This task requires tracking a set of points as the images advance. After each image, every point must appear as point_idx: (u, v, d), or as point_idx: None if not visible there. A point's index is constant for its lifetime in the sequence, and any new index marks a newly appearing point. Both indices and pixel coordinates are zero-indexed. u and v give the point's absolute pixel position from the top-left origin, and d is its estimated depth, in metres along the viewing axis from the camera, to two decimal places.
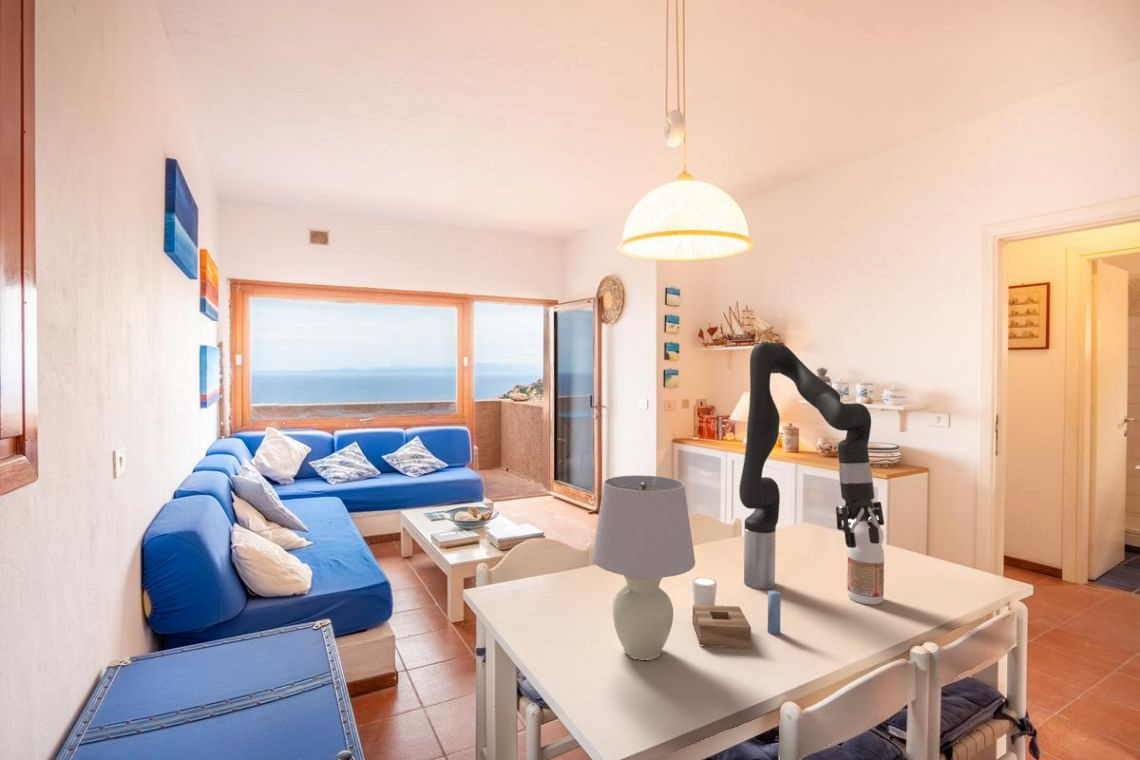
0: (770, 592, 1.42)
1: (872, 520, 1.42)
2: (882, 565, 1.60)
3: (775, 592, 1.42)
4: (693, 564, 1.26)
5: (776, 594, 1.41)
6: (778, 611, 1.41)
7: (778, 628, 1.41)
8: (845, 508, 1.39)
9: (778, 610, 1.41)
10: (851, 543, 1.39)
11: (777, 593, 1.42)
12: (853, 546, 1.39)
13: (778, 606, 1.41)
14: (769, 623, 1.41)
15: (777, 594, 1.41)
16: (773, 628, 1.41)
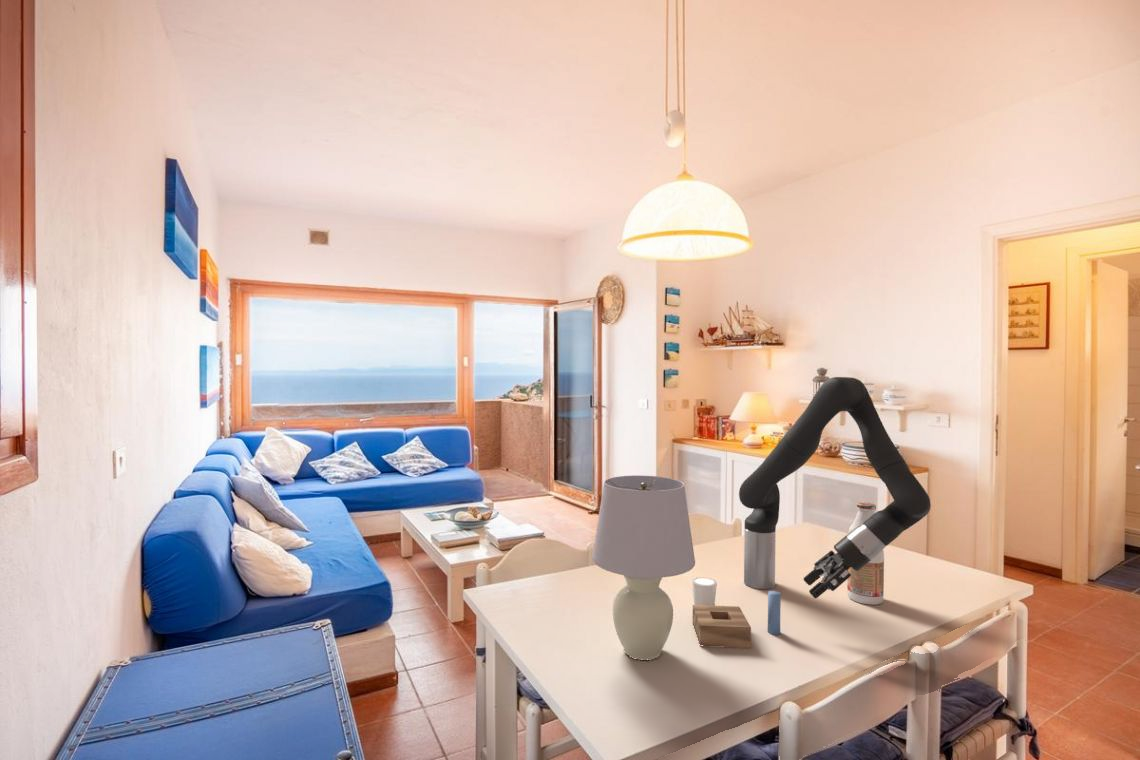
0: (770, 592, 1.42)
1: None
2: (882, 565, 1.60)
3: (775, 592, 1.42)
4: (693, 564, 1.26)
5: (776, 594, 1.41)
6: (778, 611, 1.41)
7: (778, 628, 1.41)
8: None
9: (778, 610, 1.41)
10: None
11: (777, 593, 1.42)
12: (816, 597, 1.35)
13: (778, 606, 1.41)
14: (769, 623, 1.41)
15: (777, 594, 1.41)
16: (773, 628, 1.41)
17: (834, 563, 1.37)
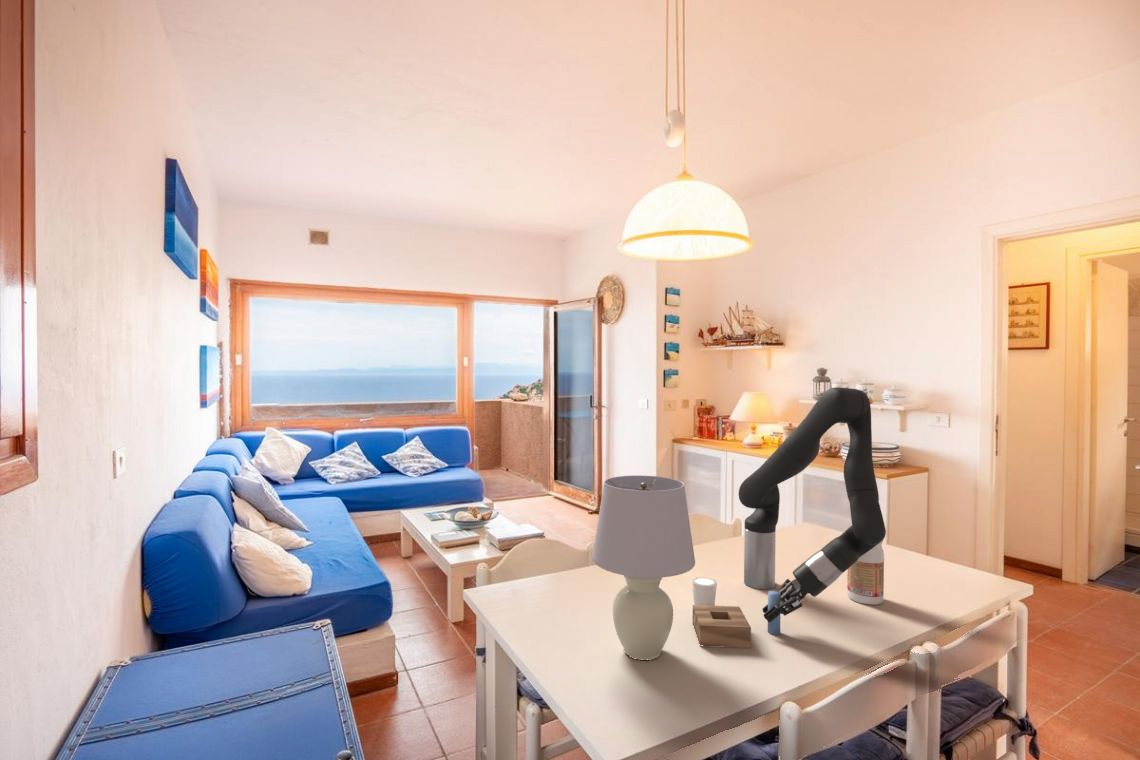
0: (770, 592, 1.42)
1: None
2: (882, 565, 1.60)
3: (775, 592, 1.42)
4: (693, 564, 1.26)
5: (776, 594, 1.41)
6: None
7: (778, 628, 1.41)
8: None
9: None
10: None
11: (777, 593, 1.42)
12: (769, 621, 1.40)
13: None
14: (769, 623, 1.41)
15: (777, 594, 1.41)
16: (773, 628, 1.41)
17: (791, 589, 1.39)
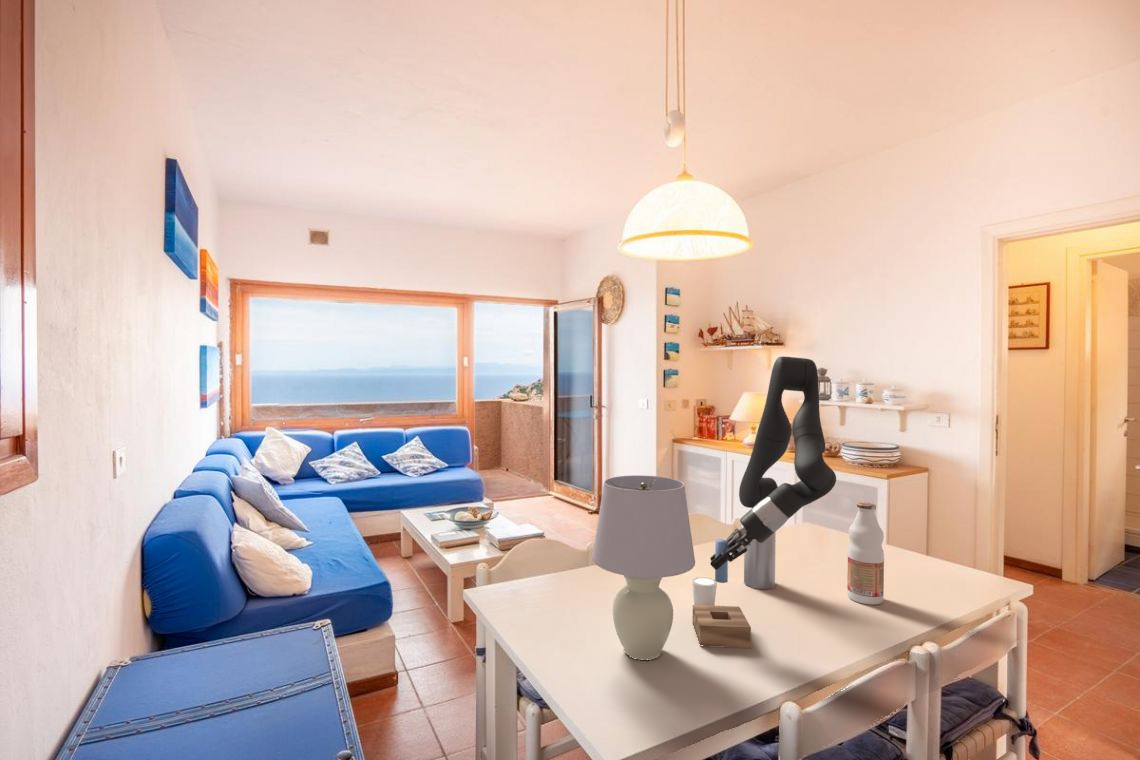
0: (717, 540, 1.40)
1: None
2: (882, 565, 1.60)
3: (723, 540, 1.40)
4: (693, 564, 1.26)
5: (723, 541, 1.39)
6: None
7: (725, 576, 1.38)
8: (745, 551, 1.32)
9: None
10: None
11: (724, 541, 1.40)
12: (716, 568, 1.38)
13: None
14: (716, 571, 1.39)
15: (724, 541, 1.39)
16: (720, 576, 1.38)
17: (738, 536, 1.37)
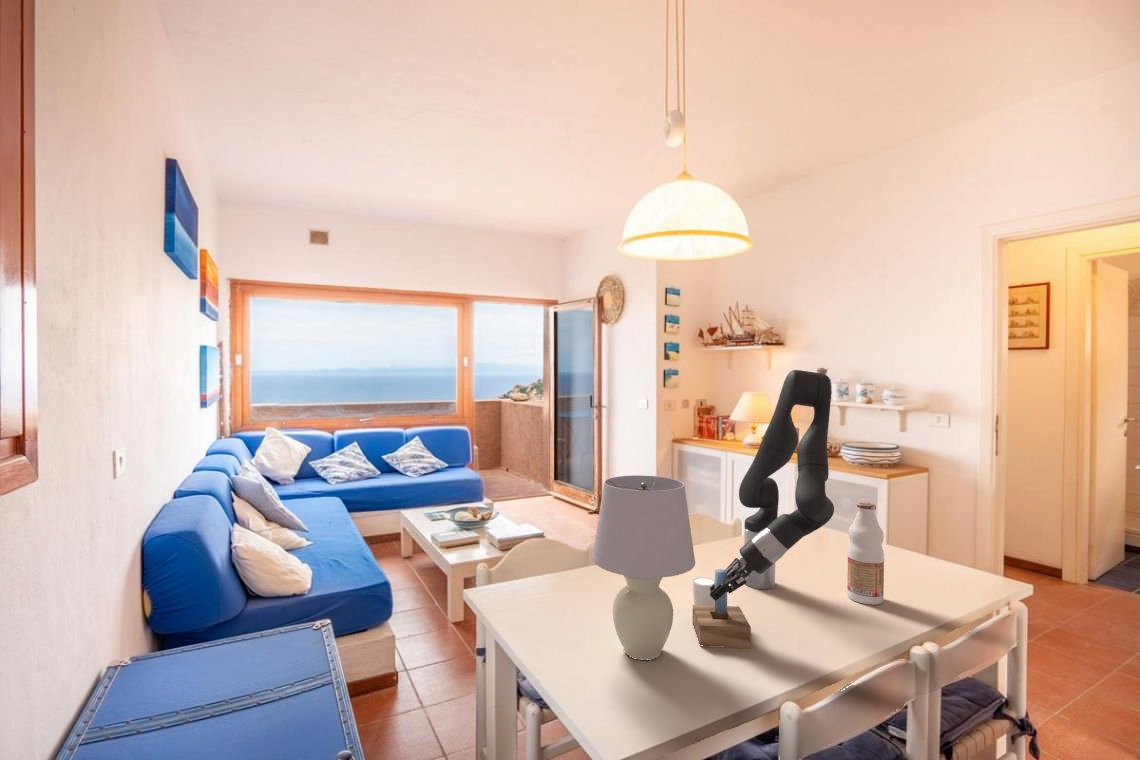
0: (717, 570, 1.40)
1: None
2: (882, 565, 1.60)
3: (722, 570, 1.40)
4: (693, 564, 1.26)
5: (722, 572, 1.39)
6: None
7: (725, 607, 1.38)
8: (745, 583, 1.32)
9: None
10: None
11: (724, 571, 1.40)
12: (715, 599, 1.38)
13: None
14: (716, 602, 1.39)
15: (723, 572, 1.39)
16: (719, 607, 1.38)
17: (737, 567, 1.37)
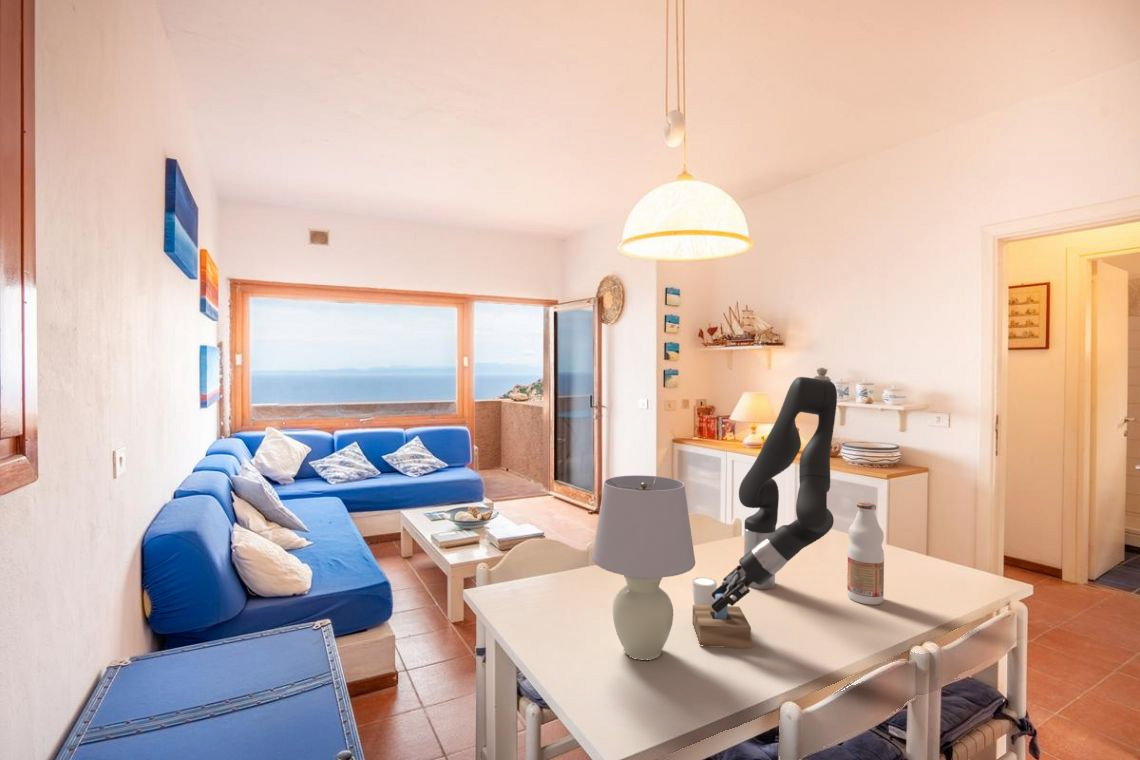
0: (717, 595, 1.40)
1: None
2: (882, 565, 1.60)
3: None
4: (693, 564, 1.26)
5: None
6: (725, 614, 1.38)
7: None
8: (748, 592, 1.32)
9: (725, 613, 1.38)
10: None
11: None
12: (717, 611, 1.36)
13: (725, 609, 1.38)
14: None
15: None
16: None
17: (738, 577, 1.37)
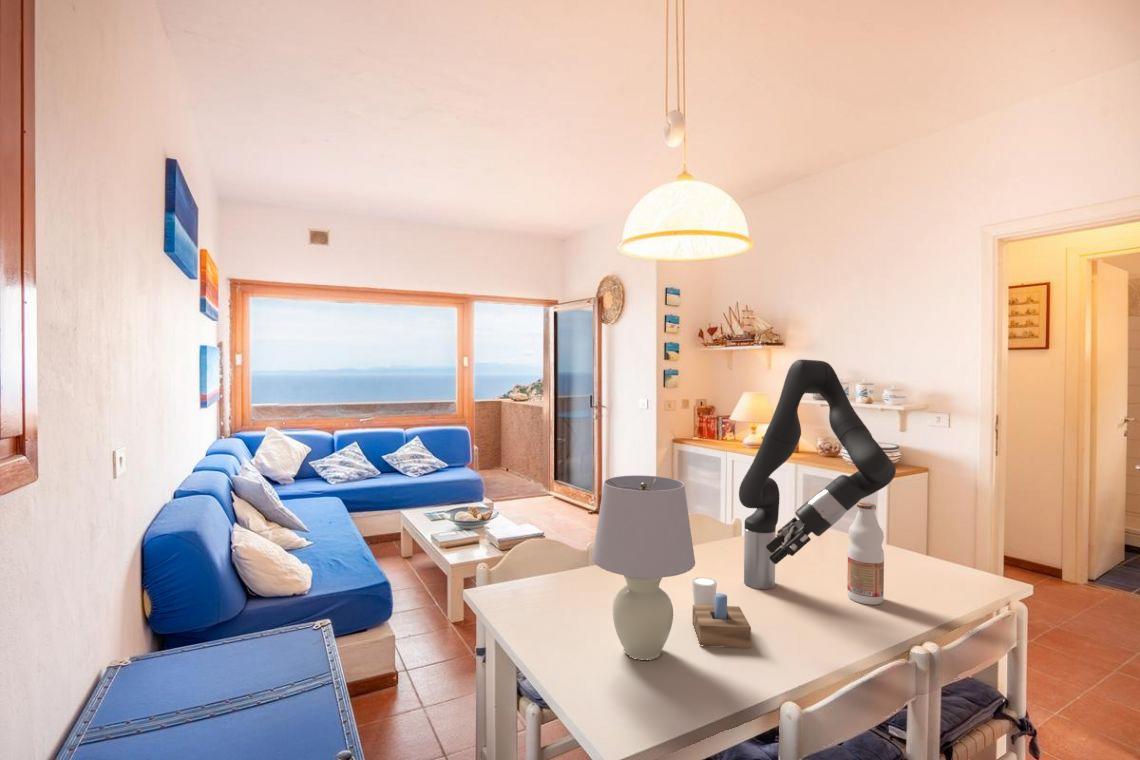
0: (717, 595, 1.40)
1: None
2: (882, 565, 1.60)
3: (722, 595, 1.40)
4: (693, 564, 1.26)
5: (722, 597, 1.39)
6: (724, 614, 1.39)
7: None
8: (809, 540, 1.29)
9: (724, 613, 1.39)
10: None
11: (724, 596, 1.40)
12: (775, 563, 1.32)
13: (724, 609, 1.39)
14: None
15: (723, 597, 1.39)
16: None
17: (795, 528, 1.34)
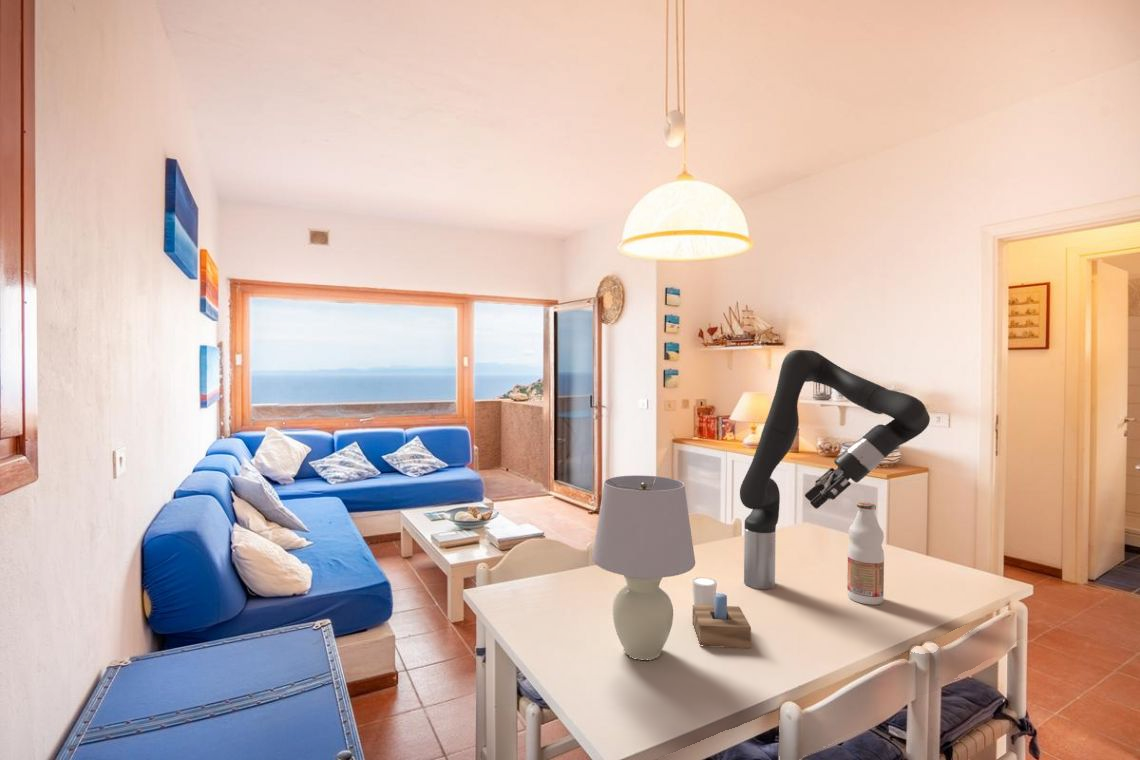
0: (717, 595, 1.40)
1: None
2: (882, 565, 1.60)
3: (722, 595, 1.40)
4: (693, 564, 1.26)
5: (722, 597, 1.39)
6: (724, 614, 1.39)
7: None
8: (849, 485, 1.36)
9: (724, 613, 1.39)
10: None
11: (723, 596, 1.40)
12: (816, 507, 1.40)
13: (724, 609, 1.39)
14: None
15: (723, 597, 1.39)
16: None
17: (834, 475, 1.41)
